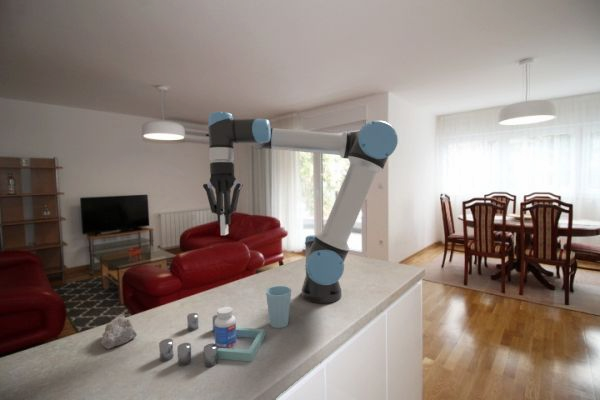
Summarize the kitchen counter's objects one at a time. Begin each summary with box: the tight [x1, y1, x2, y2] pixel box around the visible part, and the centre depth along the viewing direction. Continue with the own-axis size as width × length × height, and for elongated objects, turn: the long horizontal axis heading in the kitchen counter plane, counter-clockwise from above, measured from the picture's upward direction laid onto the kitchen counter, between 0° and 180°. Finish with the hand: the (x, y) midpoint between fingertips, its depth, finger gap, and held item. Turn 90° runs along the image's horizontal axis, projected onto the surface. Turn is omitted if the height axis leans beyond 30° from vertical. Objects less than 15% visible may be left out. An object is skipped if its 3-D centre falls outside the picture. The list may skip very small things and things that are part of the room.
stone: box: [100, 313, 138, 350], centre depth 78 cm, size 8×10×6 cm
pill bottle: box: [214, 306, 237, 349], centre depth 74 cm, size 6×5×10 cm
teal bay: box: [217, 326, 266, 362], centre depth 74 cm, size 9×11×2 cm
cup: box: [265, 285, 292, 329], centre depth 85 cm, size 8×8×10 cm
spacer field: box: [158, 312, 218, 368], centre depth 75 cm, size 16×18×4 cm
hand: (224, 234), depth 92 cm, fingers closed
